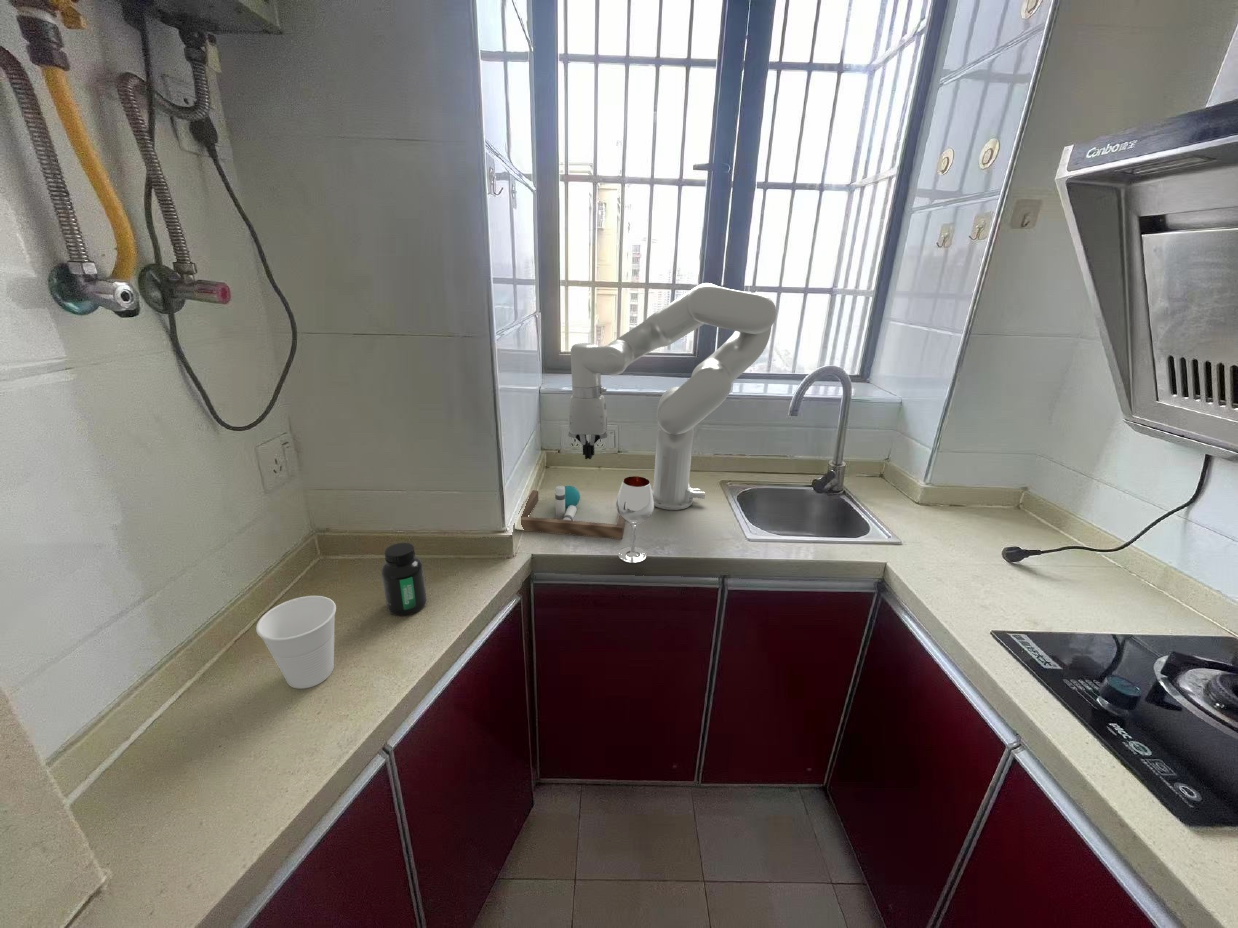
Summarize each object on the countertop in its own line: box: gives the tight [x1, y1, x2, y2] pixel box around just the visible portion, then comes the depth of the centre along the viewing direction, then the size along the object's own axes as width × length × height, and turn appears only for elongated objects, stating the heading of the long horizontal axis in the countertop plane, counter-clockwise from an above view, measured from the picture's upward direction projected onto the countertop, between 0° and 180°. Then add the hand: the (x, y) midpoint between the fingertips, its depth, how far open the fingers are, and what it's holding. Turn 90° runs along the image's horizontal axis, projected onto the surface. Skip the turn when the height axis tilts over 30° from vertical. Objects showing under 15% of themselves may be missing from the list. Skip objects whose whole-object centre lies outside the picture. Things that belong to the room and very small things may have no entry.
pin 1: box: [554, 485, 566, 520], centre depth 125 cm, size 2×2×8 cm
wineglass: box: [615, 475, 655, 564], centre depth 108 cm, size 8×8×18 cm
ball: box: [563, 485, 581, 509], centre depth 131 cm, size 6×6×6 cm
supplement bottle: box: [380, 542, 427, 617], centre depth 90 cm, size 7×7×12 cm
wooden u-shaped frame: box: [521, 489, 627, 540], centre depth 126 cm, size 26×17×3 cm, turn 84°
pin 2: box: [562, 505, 577, 521], centre depth 125 cm, size 2×2×8 cm
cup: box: [255, 595, 337, 690], centre depth 74 cm, size 10×10×11 cm
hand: (588, 457), depth 138 cm, fingers closed
